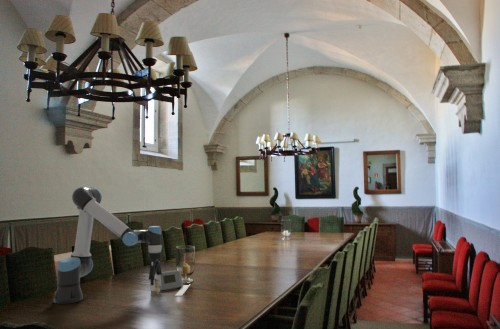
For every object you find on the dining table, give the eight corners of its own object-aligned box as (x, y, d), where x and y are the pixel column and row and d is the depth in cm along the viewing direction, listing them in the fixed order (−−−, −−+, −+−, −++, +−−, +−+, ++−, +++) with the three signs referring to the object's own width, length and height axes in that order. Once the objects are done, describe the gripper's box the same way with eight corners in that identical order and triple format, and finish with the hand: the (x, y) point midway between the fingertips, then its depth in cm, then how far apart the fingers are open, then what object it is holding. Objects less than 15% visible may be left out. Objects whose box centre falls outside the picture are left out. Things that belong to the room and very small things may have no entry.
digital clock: (159, 291, 251) (159, 273, 252) (155, 288, 259) (155, 271, 260) (184, 288, 258) (184, 271, 259) (180, 285, 266) (180, 269, 267)
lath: (174, 296, 238) (174, 295, 238) (185, 283, 274) (185, 282, 274) (181, 296, 238) (181, 295, 238) (191, 283, 273) (191, 282, 274)
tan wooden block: (150, 295, 241) (150, 279, 242) (152, 293, 245) (152, 278, 246) (157, 295, 241) (157, 279, 242) (159, 293, 245) (159, 278, 246)
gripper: (156, 254, 232) (156, 292, 231) (166, 249, 257) (166, 283, 256) (143, 255, 233) (143, 293, 231) (154, 249, 257) (154, 283, 256)
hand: (155, 288), depth 243 cm, fingers open, 13 cm apart
